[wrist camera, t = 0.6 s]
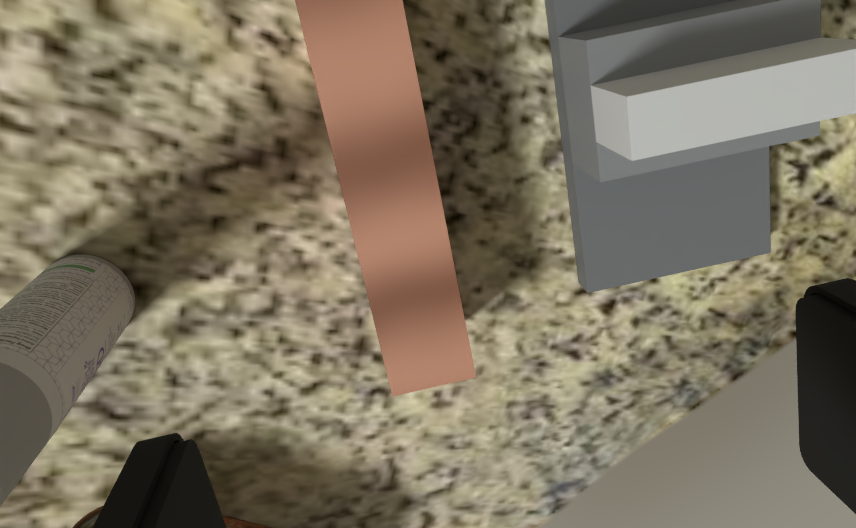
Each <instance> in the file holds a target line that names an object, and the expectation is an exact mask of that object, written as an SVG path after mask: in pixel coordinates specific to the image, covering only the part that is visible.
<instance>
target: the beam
mask: <svg viewBox="0 0 856 528" xmlns="http://www.w3.org/2000/svg"><path fill="white" fill-rule="evenodd" d="M295 2H296V6H297V10H298V14H299V18H300V22H301V26H302V30H303V34H304V38H305V42H306V46H307V51H308V55H309V59H310V63H311V67H312V71H313V75H314V79H315V83H316V87H317V91H318V95H319V99H320V103H321V108H322V112H323V116H324V120H325V124H326V128H327V132H328V136H329V140H330V144H331V148H332V152H333V156H334V160H335V164H336V169H337V173H338V177H339V181H340V185H341V189H342V193H343V197H344V201H345V205H346V209H347V213H348V217H349V221H350V225H351V230H352V234H353V238H354V242H355V246H356V250H357V254H358V258H359V262H360V266H361V270H362V274H363V278H364V282H365V287H366V291H367V295H368V299H369V303H370V307H371V311H372V315H373V319H374V323H375V327H376V331H377V335H378V339H379V343H380V348H381V352H382V356H383V360H384V364H385V368H386V372H387V376H388V380H389V384H390V388H391V392H392V396H396V395H401V394H405V393H409V392H414V391H418V390H422V389H427V388H431V387H435V386H440V385H444V384H448V383H453V382H457V381H461V380H466V379H470V378H474V377H476V375H475V370H474V364H473V359H472V354H471V349H470V344H469V339H468V334H467V329H466V323H465V318H464V313H463V308H462V303H461V298H460V293H459V287H458V282H457V277H456V272H455V267H454V262H453V257H452V252H451V246H450V241H449V236H448V231H447V226H446V221H445V216H444V210H443V205H442V200H441V195H440V190H439V185H438V180H437V175H436V169H435V164H434V159H433V154H432V149H431V144H430V139H429V134H428V128H427V123H426V118H425V113H424V108H423V103H422V98H421V92H420V87H419V82H418V77H417V72H416V67H415V62H414V57H413V51H412V46H411V41H410V36H409V31H408V26H407V21H406V15H405V10H404V5H403V0H295Z"/></svg>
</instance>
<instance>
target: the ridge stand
mask: <svg viewBox="0 0 856 528" xmlns="http://www.w3.org/2000/svg"><path fill="white" fill-rule="evenodd" d="M545 5H546V14H547V22H548V30H549V39H550V47H551V55H552V64H553V72H554V80H555V89H556V97H557V105H558V114H559V122H560V130H561V139H562V147H563V156H564V164H565V172H566V181H567V189H568V197H569V206H570V214H571V222H572V231H573V239H574V247H575V256H576V264H577V272H578V281H579V283H580V285H581V286H582V287H583V288H584V289H585V290H586V292H587V293H589V292H594V291H599V290H603V289H608V288H612V287H617V286H621V285H626V284H630V283H635V282H639V281H644V280H648V279H653V278H658V277H662V276H667V275H671V274H676V273H680V272H685V271H689V270H694V269H698V268H703V267H707V266H712V265H717V264H721V263H726V262H730V261H735V260H739V259H744V258H748V257H753V256H757V255H762V254H766V253H771V241H770V171H769V146H773V145H777V144H782V143H787V142H791V141H796V140H801V139H805V138H810V137H815V136H820V121H822V120H827V119H831V118H836V117H841V116H845V115H850V114H855V113H856V40H853V39H837V38H822V37H821V0H545Z"/></svg>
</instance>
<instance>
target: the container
mask: <svg viewBox="0 0 856 528" xmlns="http://www.w3.org/2000/svg"><path fill="white" fill-rule="evenodd" d="M134 309H135V294H134V290H133V287H132V285H131V283H130V281H129V280H128V278H127V277H126V275H125V274H124V273H123V272H122V271H121V270H120V269H119V268H118V267H116V266H115V265H114V264H112V263H110V262H108V261H107V260H104V259H102V258H99V257H96V256H92V255H71V256H67V257H64V258H62V259H59V260H57V261H56V262H54V263H53V264H52V265H50V266H49V267H48V268H47V269H45V270H44V271H43V272H42V273H41V274H40V275H39V276H37V277H36V278H35V279H34V280H33V281H32V282H31V283H29V284H28V285H27V286H26V287H25V288H24V289H23V290H21V291H20V292H19V293H18V294H17V295H16V296H15V297H14V298H12V299H11V300H10V301H9V302H8V303H7V304H6V305H4V306H3V307H2V308H1V309H0V506H1V505H2V503H3V502H4V501H5V499H6V498H7V497H8V495H9V494H10V493H11V491H12V490H13V488H14V487H15V486H16V484H17V483H18V482H19V480H20V479H21V478H22V476H23V475H24V474H25V472H26V471H27V469H28V468H29V467H30V465H31V464H32V463H33V461H34V460H35V459H36V457H37V456H38V454H39V453H40V452H41V450H42V449H43V448H44V446H45V445H46V444H47V442H48V441H49V440H50V438H51V437H52V436H53V434H54V433H55V432H56V430H57V429H58V427H59V426H60V424H61V423H62V421H63V420H64V418H65V417H66V415H67V414H68V412H69V411H70V409H71V408H72V406H73V405H74V403H75V402H76V400H77V399H78V398H79V396H80V395H81V393H82V392H83V390H84V389H85V387H86V386H87V384H88V383H89V381H90V380H91V378H92V377H93V375H94V374H95V372H96V371H97V369H98V368H99V366H100V365H101V363H102V362H103V360H104V359H105V357H106V356H107V354H108V353H109V351H110V350H111V348H112V347H113V345H114V344H115V343H116V341H117V340H118V338H119V337H120V335H121V334H122V332H123V331H124V329H125V328H126V326H127V325H128V323H129V321H130V319H131V318H132V315H133V313H134Z"/></svg>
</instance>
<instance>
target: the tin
mask: <svg viewBox="0 0 856 528" xmlns="http://www.w3.org/2000/svg"><path fill="white" fill-rule="evenodd" d="M102 508H103V506H101V507H99V508H97V509H95V510H94V511H92V512H90V513H89V514H87V515H86V516H84V517H83V518H82V519H81V520H80V521H78V522H77V523H76V524H75V525H74V526H73V528H93V526H94V524H95V522H96V520H97V518H98V516H99V514H100V512H101V510H102ZM223 519H224V522H225V525H226V528H270V527H266V526H262V525H258V524H254V523H250V522H246V521H242V520H238V519H234V518H230V517H226V516H223Z"/></svg>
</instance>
